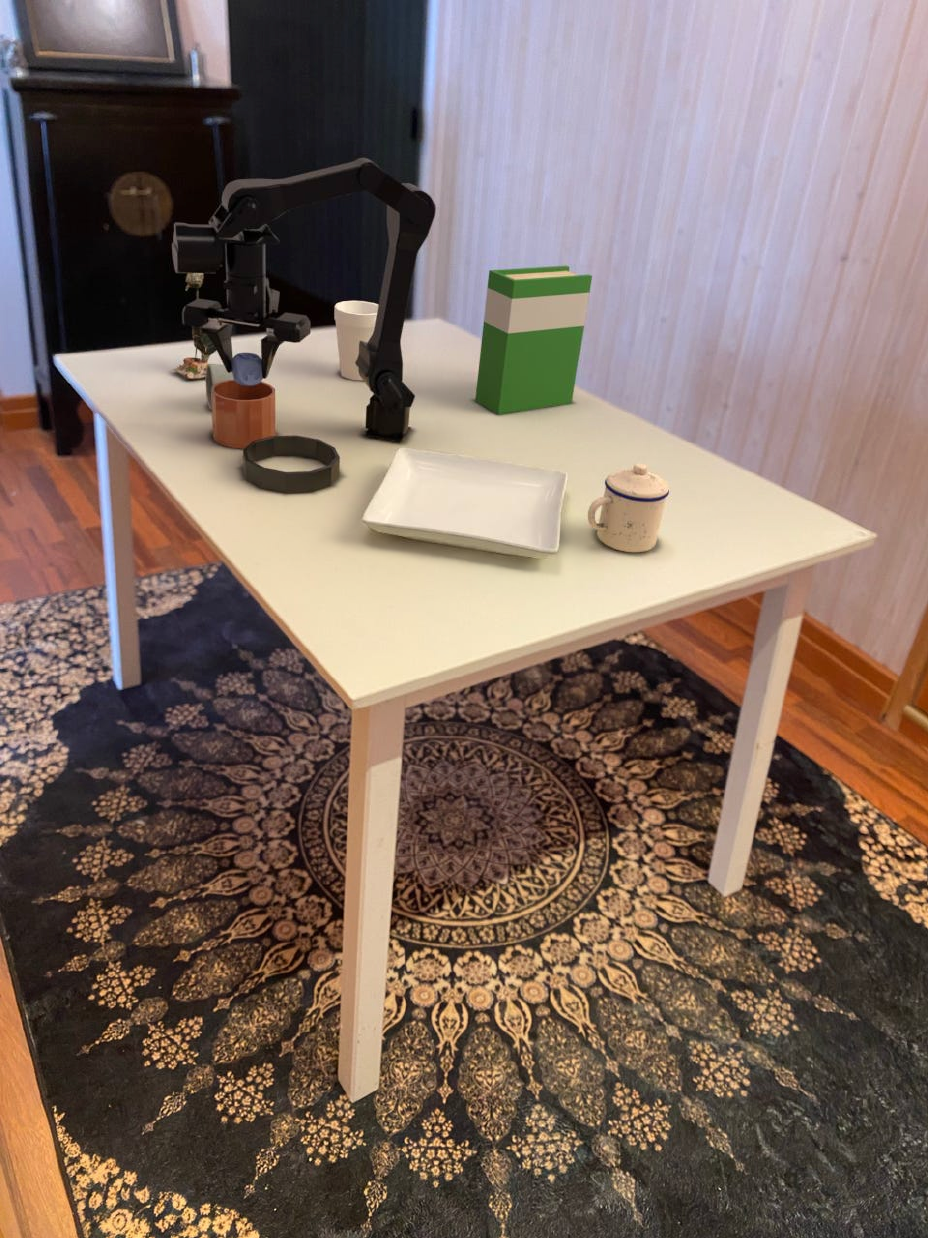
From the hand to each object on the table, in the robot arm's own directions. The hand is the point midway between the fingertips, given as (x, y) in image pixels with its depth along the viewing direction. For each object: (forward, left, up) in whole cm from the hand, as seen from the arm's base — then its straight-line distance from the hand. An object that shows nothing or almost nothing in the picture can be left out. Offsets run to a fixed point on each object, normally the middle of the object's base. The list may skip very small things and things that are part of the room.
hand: (247, 374), depth 159 cm
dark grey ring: (-11, +9, -11) cm, 18 cm away
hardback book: (-39, -40, -11) cm, 57 cm away
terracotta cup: (+1, -1, -11) cm, 11 cm away
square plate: (-40, +12, -11) cm, 43 cm away
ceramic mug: (+9, -13, -11) cm, 20 cm away
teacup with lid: (-62, +11, -11) cm, 64 cm away
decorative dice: (0, 0, -1) cm, 1 cm away
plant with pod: (+20, -26, -11) cm, 35 cm away
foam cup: (-6, -39, -11) cm, 41 cm away
